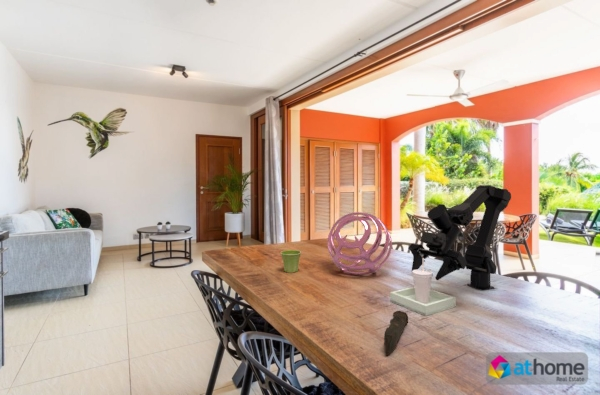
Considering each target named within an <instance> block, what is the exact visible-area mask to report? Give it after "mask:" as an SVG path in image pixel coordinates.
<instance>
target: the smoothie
mask: <svg viewBox="0 0 600 395" xmlns="http://www.w3.org/2000/svg"><path fill="white" fill-rule="evenodd" d="M424 260H425V259H424V258H422V265H421V266H422V268H419V269H416V270H413V271H412V270H411V275H412V278H413V279H412V280H413V285H414V286H413V287H415V295H416V301H418V302H420V303H424V304H425V303H428V302H429V294H430V289H431V285H432V280H433V279H432V277H433V276H434V272H433V271H431V270H428V269H425V262H424Z"/></svg>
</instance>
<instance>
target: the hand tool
mask: <svg viewBox="0 0 600 395" xmlns="http://www.w3.org/2000/svg"><path fill="white" fill-rule="evenodd" d="M408 324H409V316H408V314H407V313H406V311H405V312H404V311H403V310H402V311H401V310H396V311H394V312H393V313H392V318H391V319H390V320H389V326H388V327H386V328H385V331H384V335H383V336H384V337H383V346H384V353H385V356H389V355H391V354H392V353H393V352H394V350H395V349H397V344H398V342H399V339H400V337H401V334H402V332H403V330H404V328H405V326H407V325H408Z"/></svg>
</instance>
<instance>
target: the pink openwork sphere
mask: <svg viewBox="0 0 600 395" xmlns="http://www.w3.org/2000/svg"><path fill="white" fill-rule="evenodd" d="M356 221H358V222H360V223H361V224H362V225H363V227H364V232H363V235H362V237H360V238H359V239H358V238H357V236H356V235H354V240H355V241H354V242H350V241H347V240H346V239H347V238H348V234H346V235H344V237H342V236H341V230H342V228H344V227H346V225H348V224H350V223H353V222H356ZM368 221H369V222H373V224H374V226H375V228H376V238H375V241H374V243H373V244H372V246H371V247H370V248H369V249H365V248H364V245H365V244H366V243H367V242H368V241H369V239H370V236H371V234H372V233H371V232H372V228H371V225H370V223H369V222H368ZM334 229H335V230H334ZM382 229H383V230H384V234H385V241H384V242H385V243H384V246H383V248H382V250H381V252H380V253H379V255H378V256H376V257H375V258H374V259H373V260H372V259H371V257H372V255H374V254H375V252H376V251H377V250H378V248H379V247H380V245H381V242H382V239H383V238H382V237H383V230H382ZM334 240H336V241H337V243H338V245H337V247H336V246H335V244H334ZM392 246H393V242H392V236H391V233H390V231H389V230H388V229H387V226H386V225H385V224H384V222H383V221H382V220H381V219H380V218H379V217H377V216H376V215H374V214H371V213H368V212H361V211H358V212H357V211H355V212H349V213H347V214H344V215H342V216H341V217H340V218H338V219H337V220H336V221H335V222H334V224H333V225H332V227H331V228H330V230H329V233H328V237H327V250H328V254H329V255H330V257H331V259H332V262H333V263H334V264H335V266H336V267H337V268H338V269H340V270H341V271H343V272H344V273H346V274H349V275H353V276H365V275H369V274H375V273H377V271H378V270H379V269H380V268H382V267H383V266H384V265H385V264H386V263H387V261H388V259H389V258H390V256H391V252H392V249H393V247H392ZM342 248H345V249H349V250H353V249H358V250H359V252H360V253H359V254H353V255H351V254H345V253H343V252H342ZM383 258H384V259H383ZM340 259H342V260H344V261H349V262H353V263H352V264H345V263H343V262H341V261H340ZM382 259H383V261H381V260H382ZM361 261H364V262H365V263H364V264H362V265H359V263H360V262H361ZM380 261H381V262H380ZM378 263H379V264H378ZM377 264H378V265H377ZM376 265H377V266H376ZM363 270H367V271H363ZM354 271H355V272H354ZM357 271H363V272H357Z"/></svg>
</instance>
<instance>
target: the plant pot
mask: <svg viewBox="0 0 600 395" xmlns="http://www.w3.org/2000/svg"><path fill="white" fill-rule="evenodd" d="M301 254H302V251H300V250H297V249H290V250H289V249H288V250H282V251H280V255H281V257H282V258H281V259H282V263H283V269H284V272H286V273H288V274H289V273H291V274H292V273H296V272H299V265H300V264H299V263H300V257H301Z"/></svg>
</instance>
